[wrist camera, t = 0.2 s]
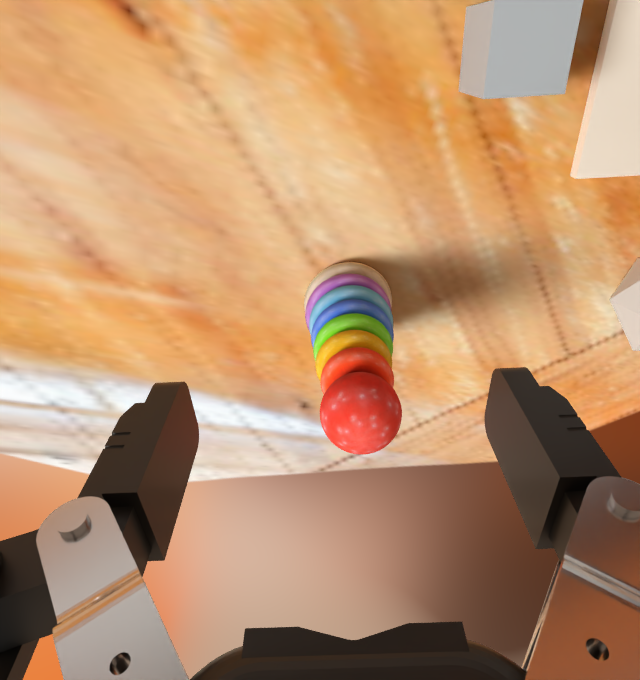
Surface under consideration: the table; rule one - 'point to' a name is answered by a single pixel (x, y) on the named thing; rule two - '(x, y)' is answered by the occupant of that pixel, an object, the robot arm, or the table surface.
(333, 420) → the stacking toy
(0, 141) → the table surface
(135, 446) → the robot arm
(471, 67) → the slate block
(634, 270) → the die
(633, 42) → the cream board
